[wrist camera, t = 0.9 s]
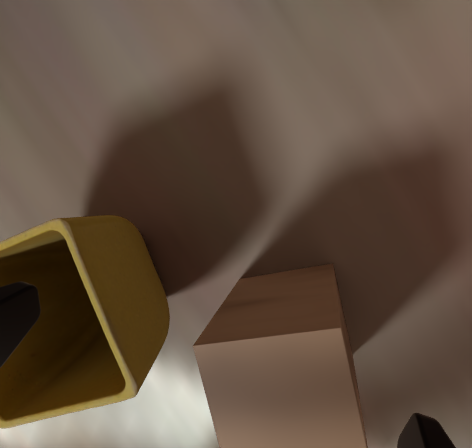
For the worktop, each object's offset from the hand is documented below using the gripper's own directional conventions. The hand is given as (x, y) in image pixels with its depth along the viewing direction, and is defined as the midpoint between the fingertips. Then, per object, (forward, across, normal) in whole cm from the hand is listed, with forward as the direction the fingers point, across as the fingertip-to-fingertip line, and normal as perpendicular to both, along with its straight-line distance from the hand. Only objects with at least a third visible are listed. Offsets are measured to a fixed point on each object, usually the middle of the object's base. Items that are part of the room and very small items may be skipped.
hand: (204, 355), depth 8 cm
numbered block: (+13, -2, +9) cm, 16 cm away
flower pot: (+13, +10, +10) cm, 19 cm away
